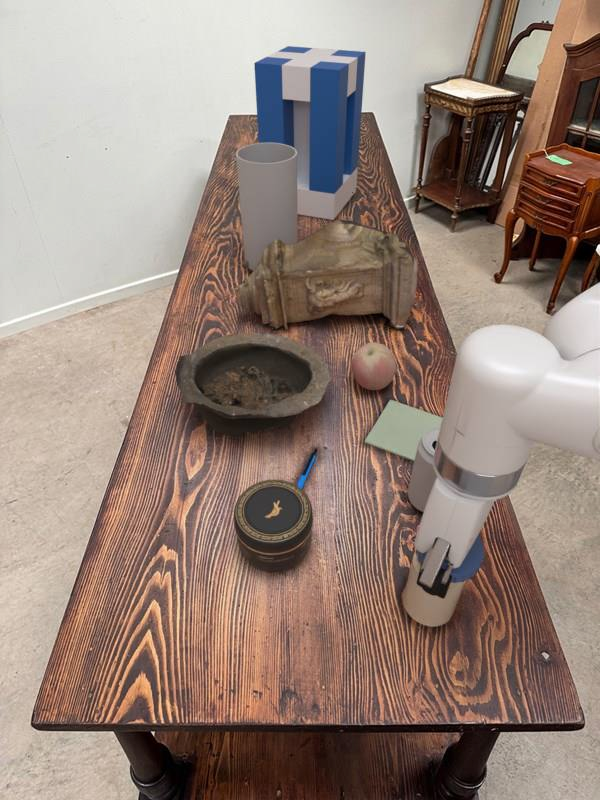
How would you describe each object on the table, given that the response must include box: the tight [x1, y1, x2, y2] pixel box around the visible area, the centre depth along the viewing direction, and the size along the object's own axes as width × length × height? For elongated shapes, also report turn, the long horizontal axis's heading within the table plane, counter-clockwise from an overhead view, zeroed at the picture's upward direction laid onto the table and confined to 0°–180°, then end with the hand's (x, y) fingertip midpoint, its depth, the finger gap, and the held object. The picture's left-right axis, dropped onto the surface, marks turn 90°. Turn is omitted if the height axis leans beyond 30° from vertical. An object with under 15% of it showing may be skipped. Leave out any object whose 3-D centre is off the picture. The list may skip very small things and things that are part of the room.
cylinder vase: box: [235, 142, 299, 272], centre depth 119 cm, size 12×12×25 cm
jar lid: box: [415, 534, 485, 583], centre depth 58 cm, size 7×7×2 cm
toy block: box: [253, 45, 367, 221], centre depth 142 cm, size 21×21×35 cm
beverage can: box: [407, 427, 440, 513], centre depth 73 cm, size 6×6×12 cm
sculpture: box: [235, 219, 419, 331], centre depth 107 cm, size 18×20×35 cm
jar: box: [233, 479, 314, 573], centre depth 69 cm, size 10×10×8 cm
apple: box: [351, 341, 397, 391], centre depth 93 cm, size 8×8×8 cm
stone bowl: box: [174, 332, 331, 439], centre depth 89 cm, size 25×25×9 cm
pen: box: [296, 448, 318, 490], centre depth 77 cm, size 1×19×1 cm, turn 160°
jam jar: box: [402, 549, 468, 628], centre depth 62 cm, size 6×6×10 cm
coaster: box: [363, 399, 443, 462], centre depth 87 cm, size 11×11×1 cm
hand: (445, 562), depth 60 cm, fingers closed on jar lid, 6 cm apart
